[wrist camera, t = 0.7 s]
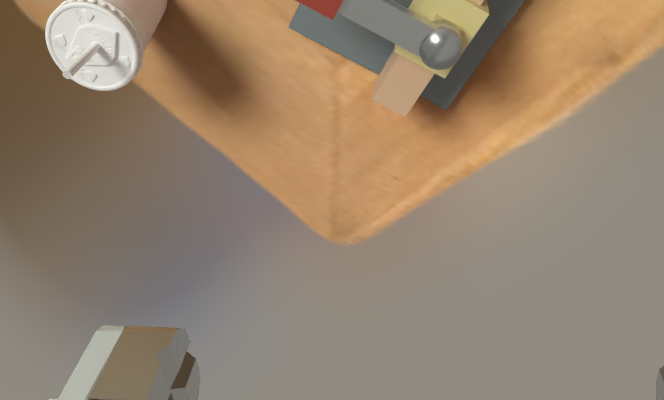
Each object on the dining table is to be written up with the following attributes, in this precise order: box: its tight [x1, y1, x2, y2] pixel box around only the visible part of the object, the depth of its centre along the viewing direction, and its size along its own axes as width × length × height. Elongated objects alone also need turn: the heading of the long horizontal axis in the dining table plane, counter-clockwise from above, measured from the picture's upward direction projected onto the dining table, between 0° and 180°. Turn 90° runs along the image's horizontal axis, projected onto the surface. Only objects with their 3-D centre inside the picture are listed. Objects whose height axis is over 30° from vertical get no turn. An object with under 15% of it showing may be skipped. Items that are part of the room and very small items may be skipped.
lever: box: [296, 0, 462, 70], centre depth 39 cm, size 13×3×2 cm, turn 64°
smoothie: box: [45, 0, 167, 91], centre depth 44 cm, size 6×6×14 cm
